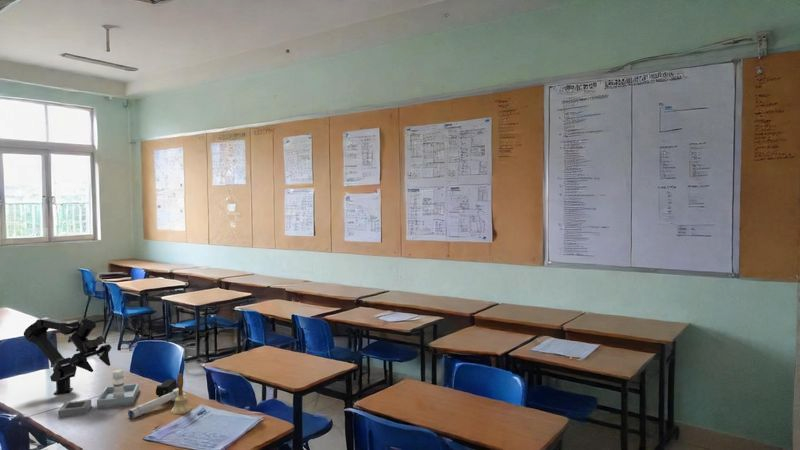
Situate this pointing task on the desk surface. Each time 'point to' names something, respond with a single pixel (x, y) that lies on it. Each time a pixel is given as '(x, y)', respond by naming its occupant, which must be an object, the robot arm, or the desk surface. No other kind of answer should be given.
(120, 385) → the light bulb
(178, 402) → the hand bell
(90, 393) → the desk surface
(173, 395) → the white long bar
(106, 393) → the tray
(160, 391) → the digital camera
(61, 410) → the socket block
